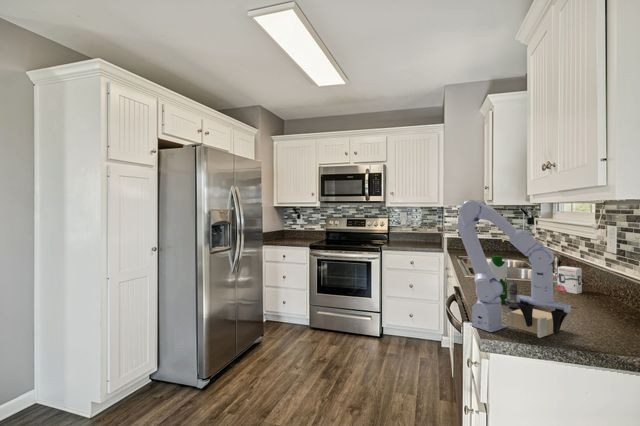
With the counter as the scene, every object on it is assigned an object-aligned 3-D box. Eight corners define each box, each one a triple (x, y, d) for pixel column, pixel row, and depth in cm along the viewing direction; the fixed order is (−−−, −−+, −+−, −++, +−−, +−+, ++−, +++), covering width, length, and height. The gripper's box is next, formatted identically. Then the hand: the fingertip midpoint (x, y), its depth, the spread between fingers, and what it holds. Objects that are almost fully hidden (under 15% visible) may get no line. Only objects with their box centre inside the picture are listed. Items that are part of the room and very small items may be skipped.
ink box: (556, 290, 161) (556, 266, 161) (562, 289, 164) (562, 265, 164) (576, 294, 154) (576, 269, 154) (582, 292, 156) (582, 268, 156)
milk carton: (488, 303, 140) (488, 256, 139) (480, 297, 149) (480, 254, 148) (510, 303, 139) (510, 257, 139) (500, 298, 148) (500, 254, 148)
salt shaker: (513, 312, 127) (513, 281, 127) (501, 307, 133) (501, 278, 133) (525, 310, 129) (525, 280, 129) (512, 306, 135) (512, 277, 135)
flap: (540, 338, 101) (540, 320, 101) (537, 337, 101) (537, 319, 101) (562, 329, 108) (562, 312, 108) (559, 328, 109) (559, 311, 109)
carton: (542, 335, 104) (542, 320, 104) (510, 326, 112) (510, 311, 112) (557, 329, 109) (557, 314, 109) (526, 320, 117) (526, 307, 117)
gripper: (575, 289, 98) (575, 334, 98) (524, 280, 110) (524, 320, 110) (564, 292, 94) (564, 339, 94) (512, 283, 107) (513, 324, 107)
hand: (542, 329), depth 102 cm, fingers open, 7 cm apart
